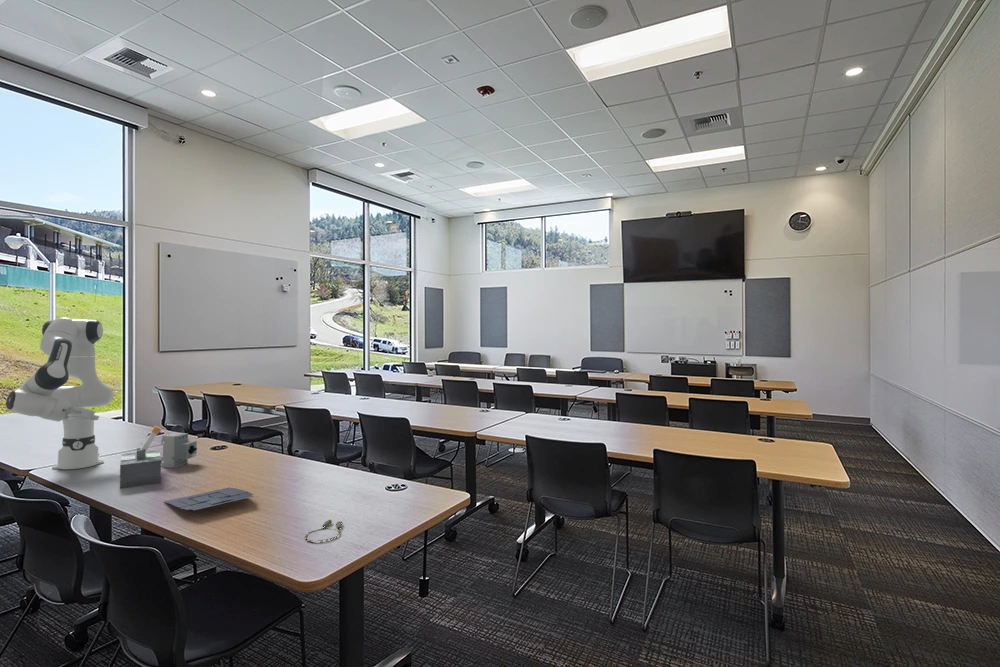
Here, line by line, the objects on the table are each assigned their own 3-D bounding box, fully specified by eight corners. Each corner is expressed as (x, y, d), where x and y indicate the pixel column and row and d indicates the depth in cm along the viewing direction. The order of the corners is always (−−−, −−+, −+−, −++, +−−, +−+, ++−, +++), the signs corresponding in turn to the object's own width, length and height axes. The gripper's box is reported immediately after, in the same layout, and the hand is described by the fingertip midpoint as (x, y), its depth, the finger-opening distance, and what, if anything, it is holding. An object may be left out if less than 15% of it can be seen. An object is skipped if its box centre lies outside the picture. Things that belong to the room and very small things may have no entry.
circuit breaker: (189, 467, 237) (190, 436, 237) (160, 466, 237) (161, 435, 237) (199, 463, 244) (200, 433, 244) (171, 462, 245) (172, 432, 245)
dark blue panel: (188, 519, 170) (187, 509, 170) (162, 508, 189) (162, 499, 190) (259, 502, 188) (259, 492, 188) (230, 493, 208) (229, 485, 208)
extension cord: (356, 530, 167) (356, 524, 167) (320, 547, 153) (320, 541, 153) (331, 523, 173) (331, 517, 173) (294, 539, 159) (294, 533, 159)
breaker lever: (135, 454, 217) (154, 425, 221) (142, 456, 219) (161, 427, 223) (135, 455, 215) (155, 426, 219) (142, 457, 216) (161, 429, 220)
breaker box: (121, 475, 222) (121, 446, 222) (158, 471, 230) (159, 442, 230) (119, 488, 204) (120, 456, 204) (160, 483, 212) (161, 452, 212)
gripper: (72, 401, 197) (110, 410, 208) (52, 403, 208) (90, 412, 219) (65, 417, 195) (104, 425, 206) (46, 418, 206) (84, 425, 216)
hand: (97, 418), depth 212 cm, fingers closed
